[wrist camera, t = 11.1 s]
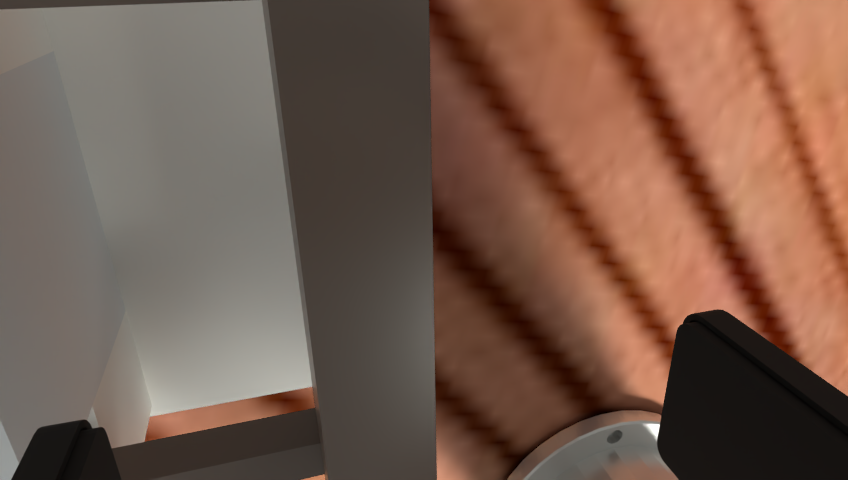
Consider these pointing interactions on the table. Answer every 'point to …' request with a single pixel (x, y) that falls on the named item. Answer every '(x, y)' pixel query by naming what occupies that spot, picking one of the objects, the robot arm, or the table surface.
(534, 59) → the table surface
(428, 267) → the grey frame
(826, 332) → the table surface
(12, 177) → the stand
